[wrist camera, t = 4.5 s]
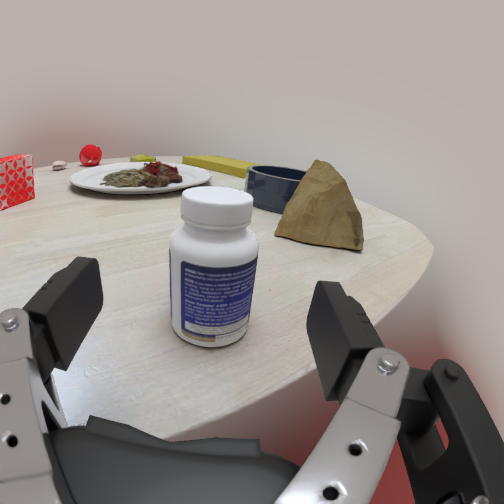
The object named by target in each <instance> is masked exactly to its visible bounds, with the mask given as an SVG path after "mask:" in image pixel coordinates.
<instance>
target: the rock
mask: <svg viewBox="0 0 504 504" xmlns="http://www.w3.org/2000/svg"><path fill="white" fill-rule="evenodd" d="M274 234H275V236H284V237H287V238H292V239H293V240H296V241H300V242H304V243H310V244H316V245H324V246H332V247H343V248H348V249H355V250H363V242H364V238H363V229H362V218H361V215H360V212H359V211H358V209H357V207H356V205H355V203H354V200H353V197H352V195H351V193H350V191H349V189H348V186H347V183H346V181H345V180H344V179H343V178H342V176H341V175H340V174H339V173H338V172H337V171H336V170H335V169H334V167H332V165H330V164H329V163H327V162H324V161H322V162H321V161H319V160H315V161H314V163H313V164H312V166H311V167H310V168H309V170H308V171H307V172H306V174H305V176H304V177H303V178H302V180H301V181H300V183H299V185H298V187H297V189H296V190H295V192H294V195H293V196H292V197H291V199H290V201H289V202H288V203H287V205H286V207H285V210H284V212H283V216H282V218H281V220H280V221H279V223H278V227H277V229H276V231H275V233H274Z"/></svg>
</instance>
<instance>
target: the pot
mask: <svg viewBox="0 0 504 504" xmlns="http://www.w3.org/2000/svg"><path fill="white" fill-rule="evenodd" d="M306 172H307V171H303V170H298V169H293V168H287V167H280V166H271V165H252V166H249V167H247V172H246V181H245V189H244V192H246V193H248V194H250V195H251V196H252V197H253V206H255V207H258V208H261V209H264V210H268V211H272V212H276V213H281V214H283V212H284V210H285V207H286V205H287V203H288V202H289V201H290V199H291V197H292V196H293V195H294V192H295V190H296V189H297V187H298V185H299V183H300V181H301V180H302V178H303V177H304V176H305V174H306Z"/></svg>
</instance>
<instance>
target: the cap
mask: <svg viewBox="0 0 504 504" xmlns="http://www.w3.org/2000/svg"><path fill="white" fill-rule="evenodd" d="M101 153H102V152H101V150H100V148H99V147H96V146H94V145H86V146H85V147H84V148H83V149H82V151H81V152H80V161H81V163H82V164H83V165H85V166H92V165H97V164H99V161H100V160H101V155H102V154H101ZM89 160H91V161H92V162H90V163H88V161H89Z"/></svg>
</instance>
